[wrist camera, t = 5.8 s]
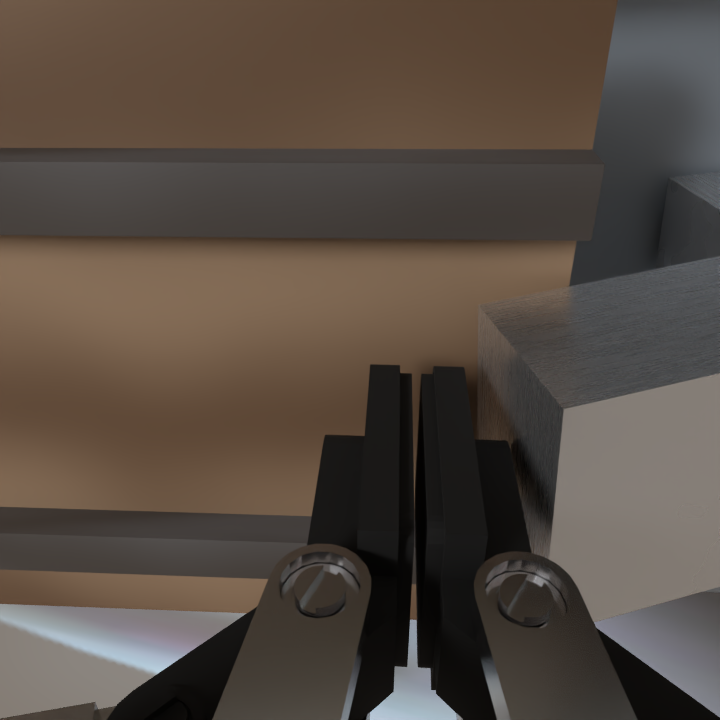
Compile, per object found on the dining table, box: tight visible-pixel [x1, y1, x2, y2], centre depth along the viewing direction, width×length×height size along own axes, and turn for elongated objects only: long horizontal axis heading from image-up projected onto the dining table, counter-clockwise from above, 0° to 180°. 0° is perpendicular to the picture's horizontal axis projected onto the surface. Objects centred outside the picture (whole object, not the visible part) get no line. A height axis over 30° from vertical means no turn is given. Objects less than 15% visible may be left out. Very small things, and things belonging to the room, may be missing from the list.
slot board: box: [0, 0, 618, 620], centre depth 15 cm, size 14×20×6 cm
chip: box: [477, 256, 720, 622], centre depth 12 cm, size 5×5×3 cm
